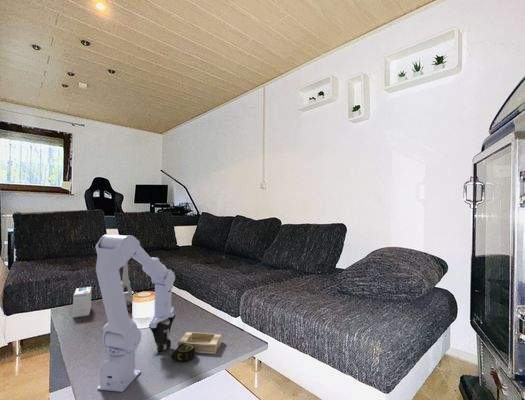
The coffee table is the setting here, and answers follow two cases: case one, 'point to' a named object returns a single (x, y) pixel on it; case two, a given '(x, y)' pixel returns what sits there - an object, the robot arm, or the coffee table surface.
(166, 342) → the push button
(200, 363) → the coffee table surface
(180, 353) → the tape measure
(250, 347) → the coffee table surface
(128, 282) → the eiffel tower
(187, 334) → the pocket block
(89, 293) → the light bulb box
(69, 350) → the coffee table surface
